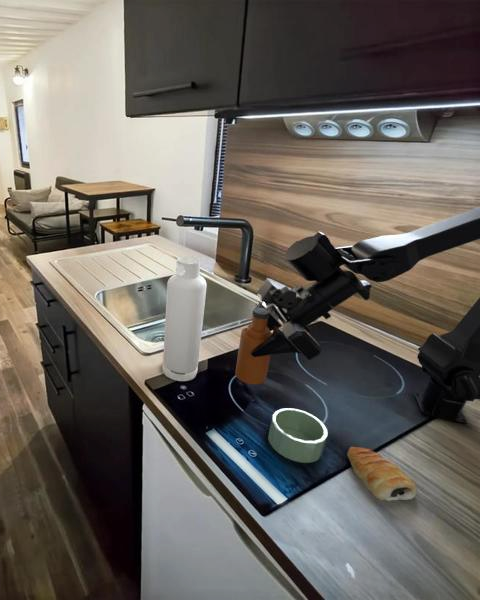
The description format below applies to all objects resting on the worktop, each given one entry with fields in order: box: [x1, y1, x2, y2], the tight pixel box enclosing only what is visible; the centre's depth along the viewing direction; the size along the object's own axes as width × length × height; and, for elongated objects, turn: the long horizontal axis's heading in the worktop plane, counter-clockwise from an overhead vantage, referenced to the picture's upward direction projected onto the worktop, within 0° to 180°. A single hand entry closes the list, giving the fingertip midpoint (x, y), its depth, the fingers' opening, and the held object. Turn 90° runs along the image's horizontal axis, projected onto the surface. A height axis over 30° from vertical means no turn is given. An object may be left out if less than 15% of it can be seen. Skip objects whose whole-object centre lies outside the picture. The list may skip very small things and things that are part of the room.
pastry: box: [346, 446, 418, 502], centre depth 58 cm, size 9×7×4 cm
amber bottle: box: [234, 307, 273, 386], centre depth 72 cm, size 6×6×15 cm
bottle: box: [162, 255, 208, 382], centre depth 81 cm, size 8×8×28 cm
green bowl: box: [267, 407, 329, 464], centre depth 64 cm, size 8×8×5 cm
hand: (247, 346), depth 72 cm, fingers closed on amber bottle, 6 cm apart
